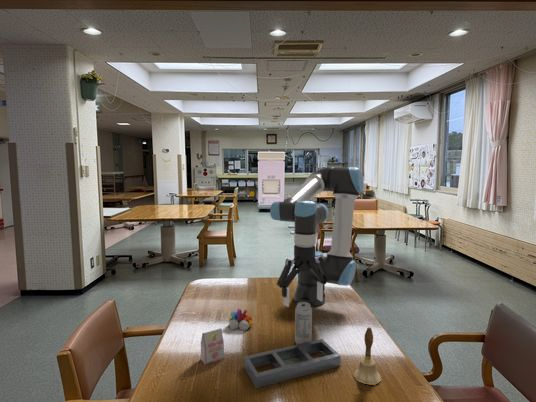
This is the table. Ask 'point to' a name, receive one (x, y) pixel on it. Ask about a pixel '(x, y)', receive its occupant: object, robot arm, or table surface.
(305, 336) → the energy drink can
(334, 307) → the table surface
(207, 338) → the white printed box
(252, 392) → the table surface
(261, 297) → the table surface
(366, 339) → the hand bell
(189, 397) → the table surface
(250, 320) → the rainbow disc toy
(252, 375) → the rack
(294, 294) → the robot arm
